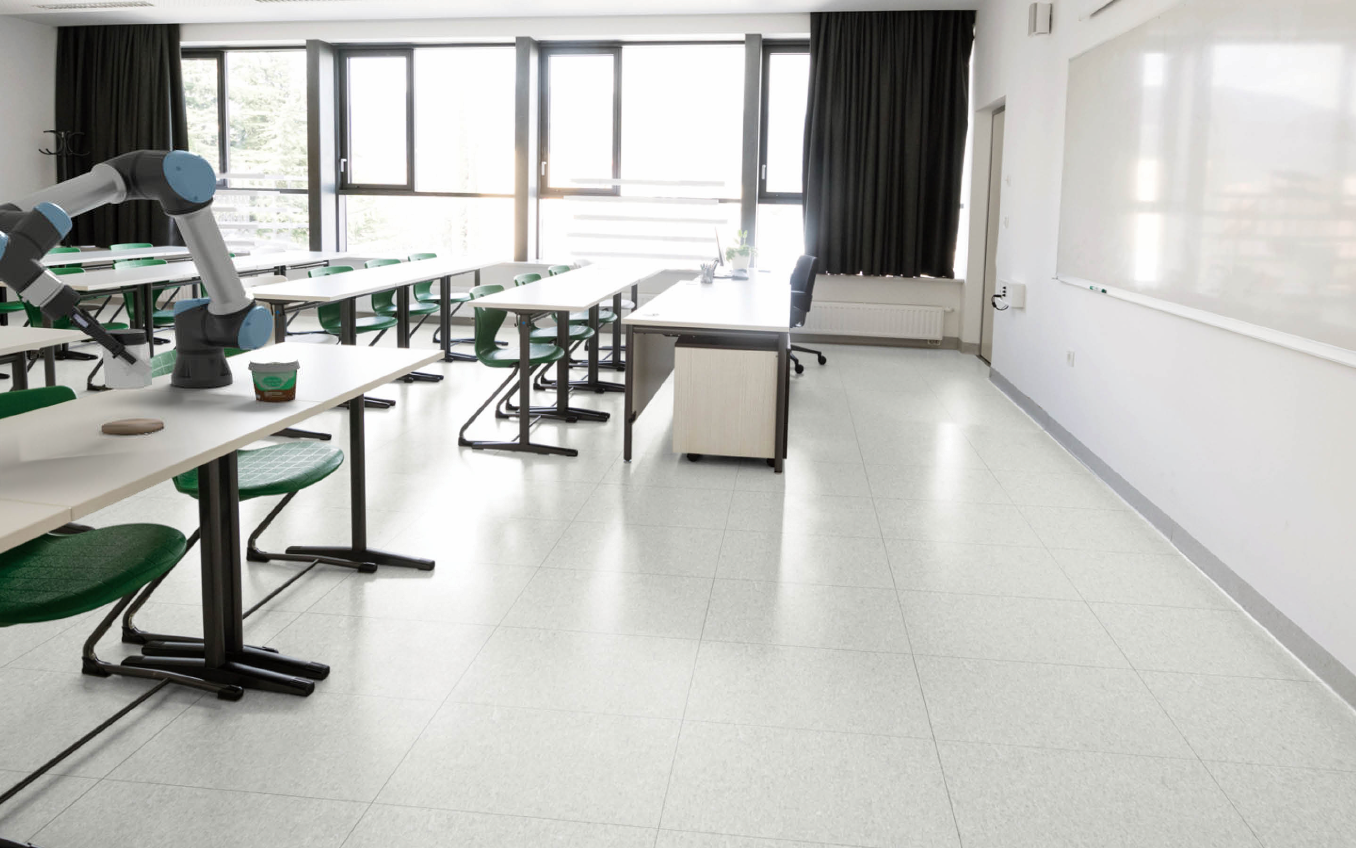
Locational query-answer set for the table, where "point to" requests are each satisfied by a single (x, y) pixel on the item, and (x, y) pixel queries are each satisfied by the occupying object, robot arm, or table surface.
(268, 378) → the food container
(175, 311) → the robot arm
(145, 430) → the candle base
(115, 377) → the jar
